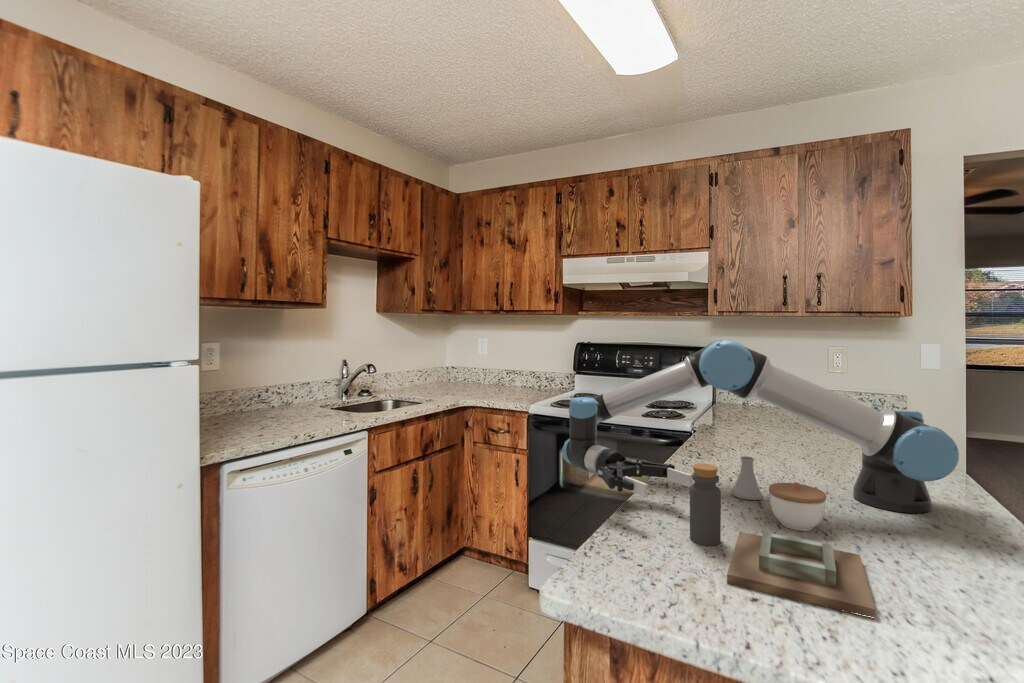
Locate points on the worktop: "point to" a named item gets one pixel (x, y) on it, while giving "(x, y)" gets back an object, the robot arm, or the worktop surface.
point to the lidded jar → (797, 505)
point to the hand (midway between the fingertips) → (669, 485)
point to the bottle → (705, 506)
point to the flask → (747, 482)
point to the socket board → (801, 571)
